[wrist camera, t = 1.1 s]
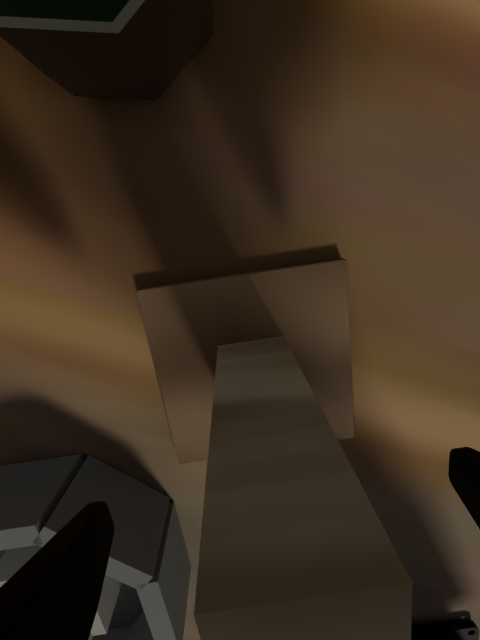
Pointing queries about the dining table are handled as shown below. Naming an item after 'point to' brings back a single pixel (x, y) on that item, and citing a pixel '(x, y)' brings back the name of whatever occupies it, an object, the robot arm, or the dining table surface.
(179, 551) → the bowl
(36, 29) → the beer bottle
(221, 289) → the coaster
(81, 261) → the dining table surface
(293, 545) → the square wooden post
